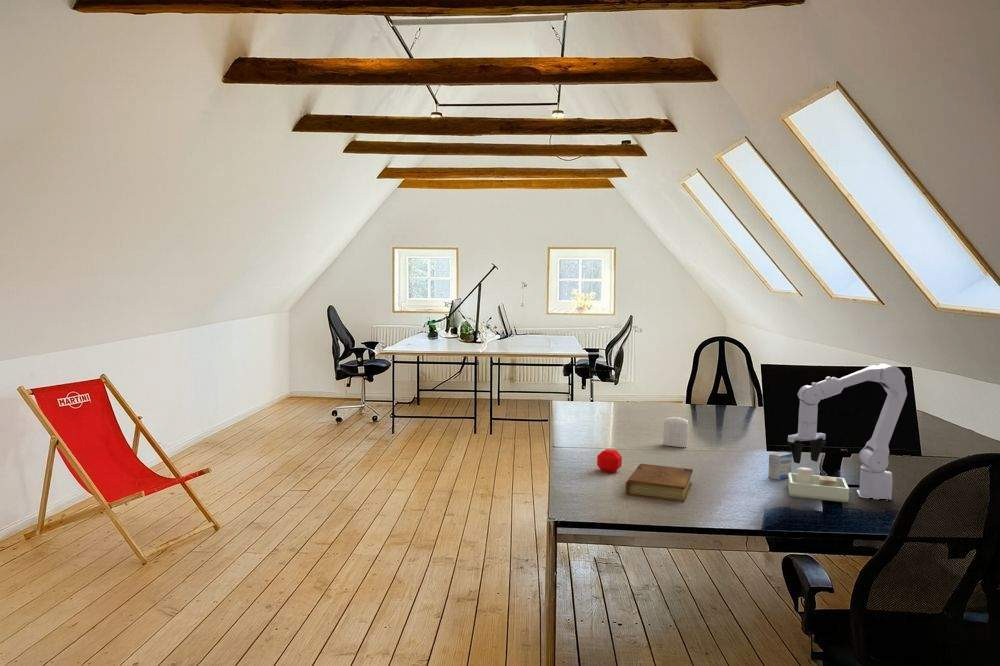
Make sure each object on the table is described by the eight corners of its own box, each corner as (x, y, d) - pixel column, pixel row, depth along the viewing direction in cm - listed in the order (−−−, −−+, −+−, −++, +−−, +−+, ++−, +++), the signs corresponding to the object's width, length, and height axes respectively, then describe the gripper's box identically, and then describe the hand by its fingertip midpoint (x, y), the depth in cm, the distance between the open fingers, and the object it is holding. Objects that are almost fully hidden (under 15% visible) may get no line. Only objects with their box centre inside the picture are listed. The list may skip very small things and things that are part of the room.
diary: (638, 479, 262) (638, 463, 261) (692, 485, 255) (692, 469, 255) (625, 496, 240) (626, 479, 240) (684, 503, 234) (684, 485, 233)
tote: (843, 491, 250) (843, 478, 249) (848, 502, 237) (849, 488, 237) (787, 485, 255) (788, 472, 255) (789, 496, 242) (790, 482, 242)
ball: (623, 470, 271) (624, 450, 270) (615, 475, 264) (615, 454, 263) (603, 467, 275) (603, 447, 274) (594, 472, 268) (595, 451, 267)
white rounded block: (688, 446, 311) (689, 417, 310) (686, 448, 307) (688, 419, 306) (664, 443, 315) (665, 415, 314) (662, 445, 311) (663, 417, 310)
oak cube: (834, 492, 245) (835, 477, 245) (836, 496, 241) (836, 481, 240) (818, 490, 247) (819, 475, 247) (819, 494, 242) (820, 479, 242)
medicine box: (778, 480, 262) (780, 456, 261) (767, 477, 265) (768, 453, 264) (791, 477, 266) (792, 453, 265) (780, 474, 270) (781, 451, 269)
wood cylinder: (805, 487, 250) (806, 467, 250) (815, 491, 246) (816, 470, 245) (793, 488, 249) (793, 467, 248) (803, 492, 244) (804, 471, 244)
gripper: (799, 425, 239) (797, 466, 240) (833, 422, 244) (831, 463, 246) (784, 421, 246) (781, 461, 247) (817, 418, 251) (815, 458, 252)
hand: (805, 461), depth 247 cm, fingers open, 7 cm apart
